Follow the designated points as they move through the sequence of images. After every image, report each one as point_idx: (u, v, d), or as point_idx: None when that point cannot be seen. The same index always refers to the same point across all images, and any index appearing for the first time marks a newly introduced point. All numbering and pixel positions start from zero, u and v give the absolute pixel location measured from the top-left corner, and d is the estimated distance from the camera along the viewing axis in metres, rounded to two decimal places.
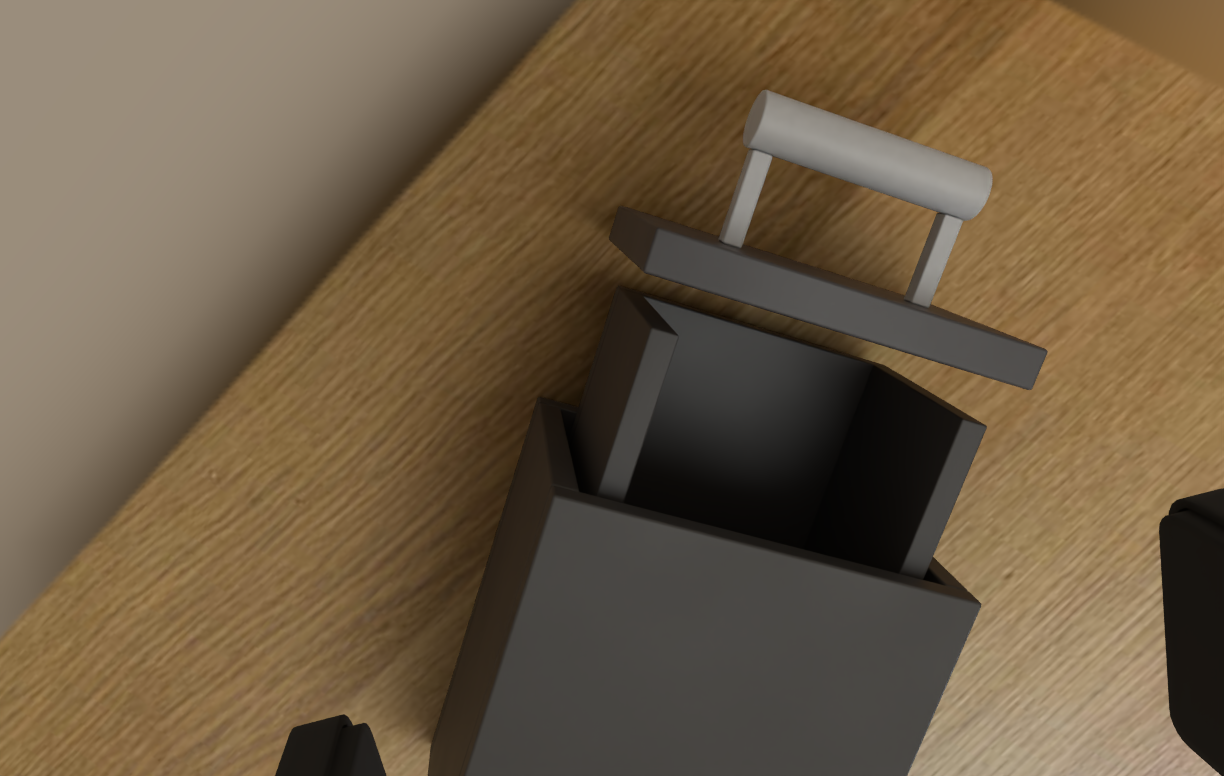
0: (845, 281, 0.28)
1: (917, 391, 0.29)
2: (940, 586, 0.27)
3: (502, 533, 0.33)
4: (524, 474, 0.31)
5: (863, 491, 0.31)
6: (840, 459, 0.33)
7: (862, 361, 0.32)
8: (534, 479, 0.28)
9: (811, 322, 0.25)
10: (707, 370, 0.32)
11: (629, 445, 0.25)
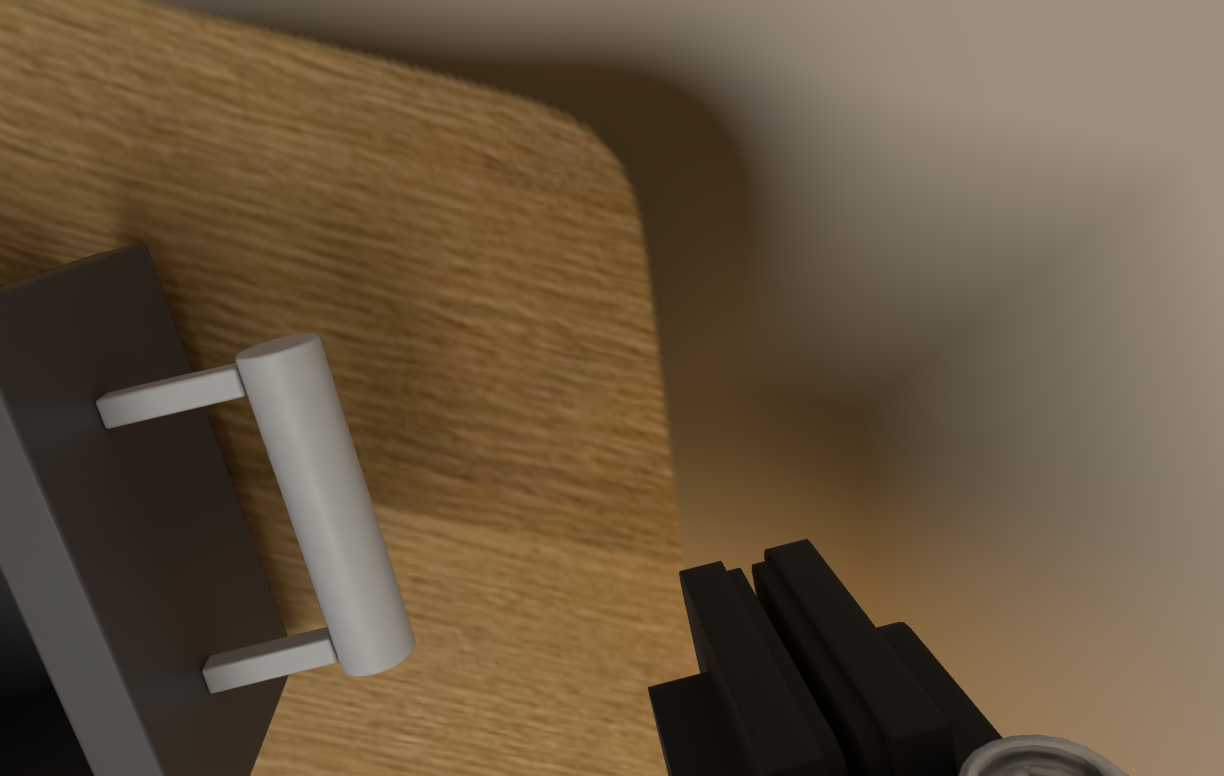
0: (179, 576, 0.20)
1: None
2: None
3: None
4: None
5: None
6: (27, 696, 0.23)
7: None
8: None
9: (9, 588, 0.16)
10: None
11: None
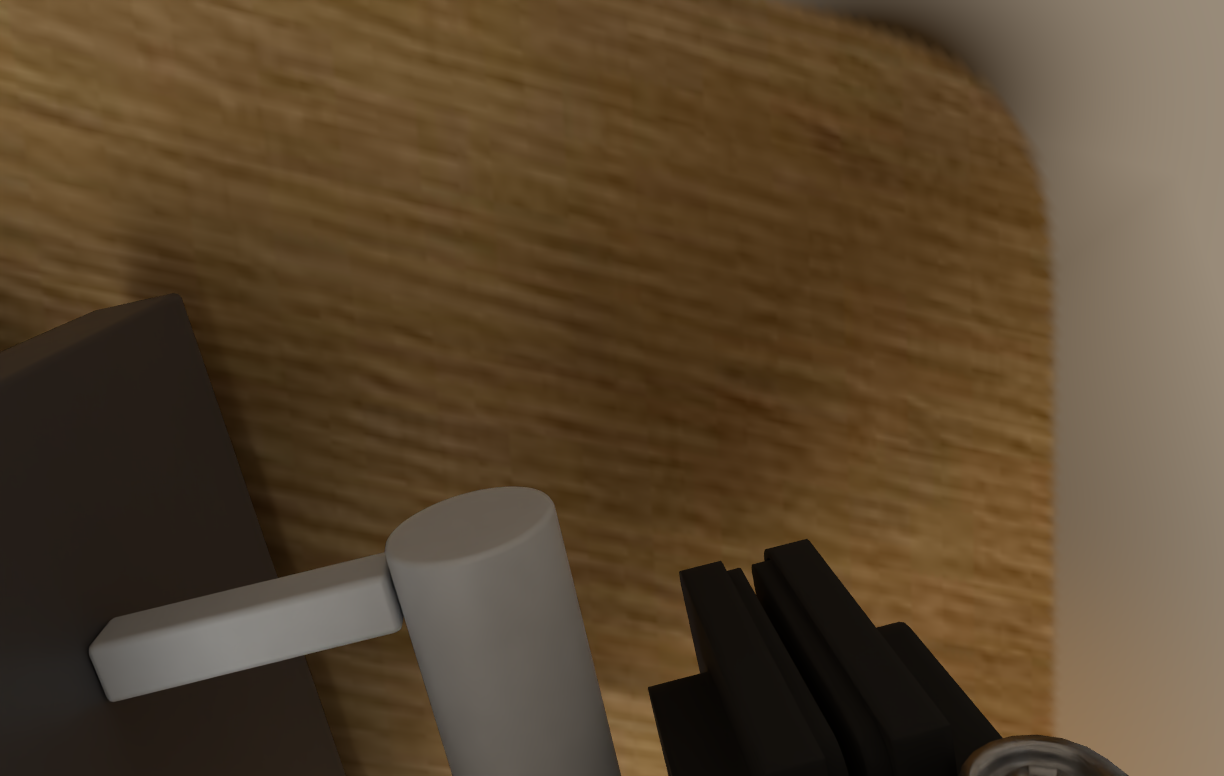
0: None
1: None
2: None
3: None
4: None
5: None
6: None
7: None
8: None
9: None
10: None
11: None
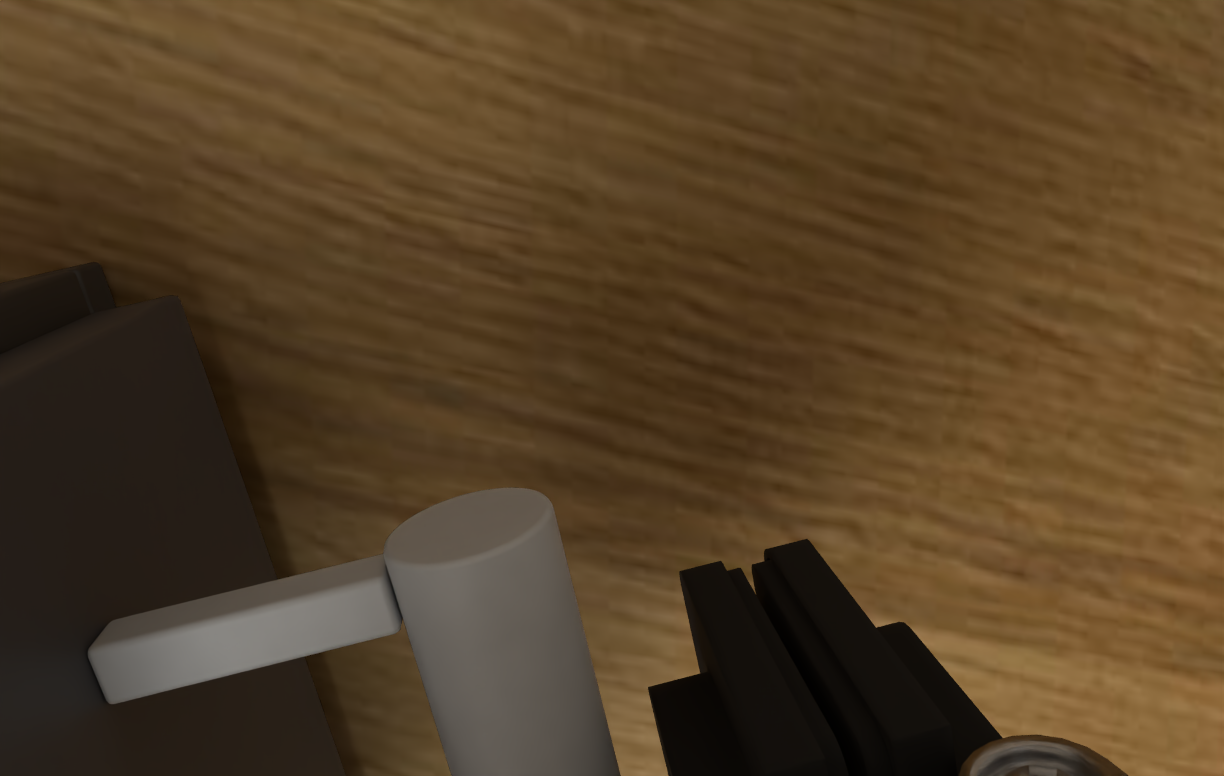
0: None
1: None
2: None
3: None
4: None
5: None
6: None
7: None
8: None
9: None
10: None
11: None
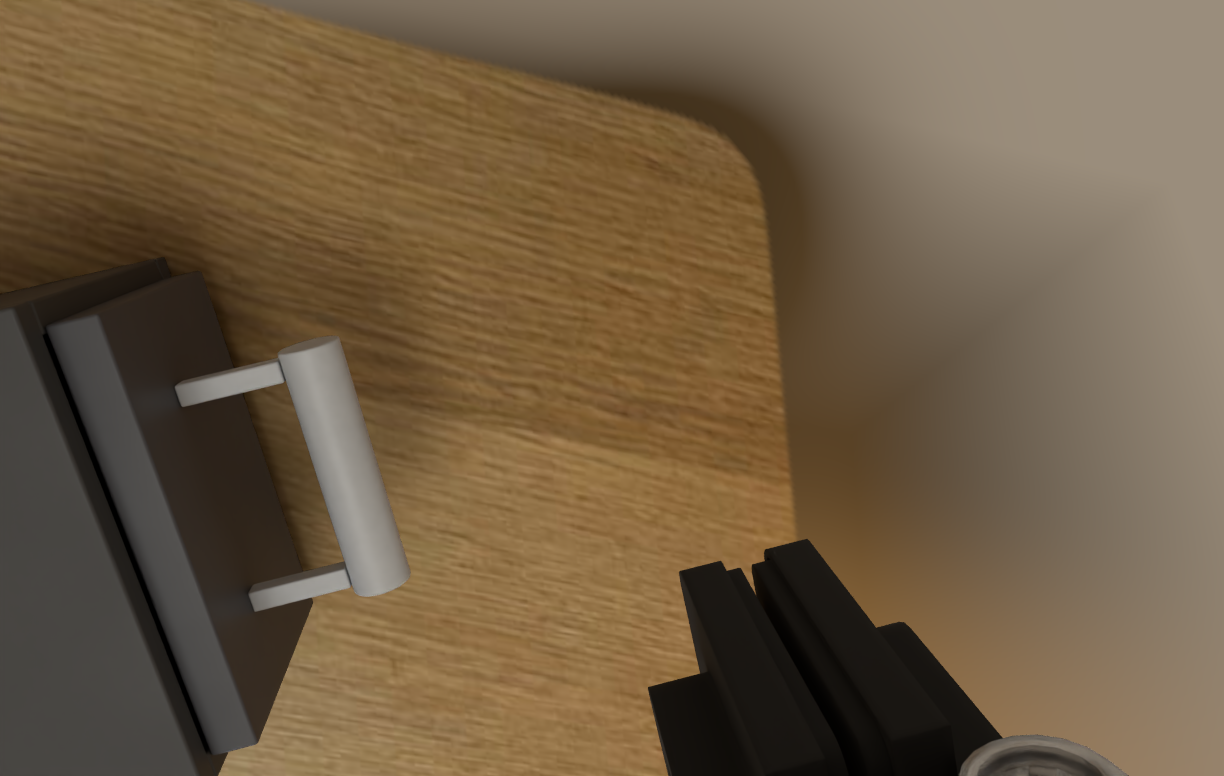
0: (231, 522, 0.26)
1: None
2: (200, 749, 0.23)
3: None
4: (59, 283, 0.26)
5: None
6: None
7: None
8: (46, 290, 0.24)
9: (119, 517, 0.22)
10: None
11: None
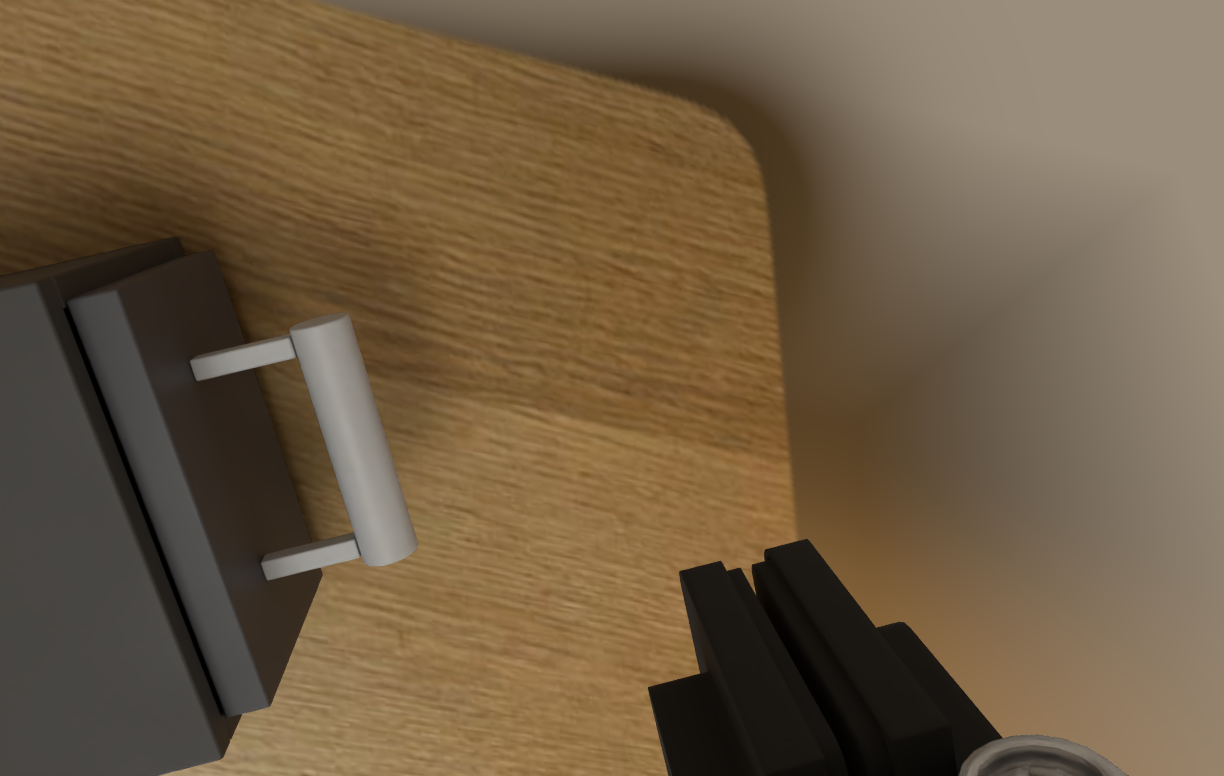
0: (244, 493, 0.27)
1: None
2: (215, 711, 0.24)
3: (2, 277, 0.28)
4: (76, 261, 0.27)
5: None
6: None
7: None
8: (65, 267, 0.24)
9: (137, 486, 0.23)
10: (111, 424, 0.29)
11: None
